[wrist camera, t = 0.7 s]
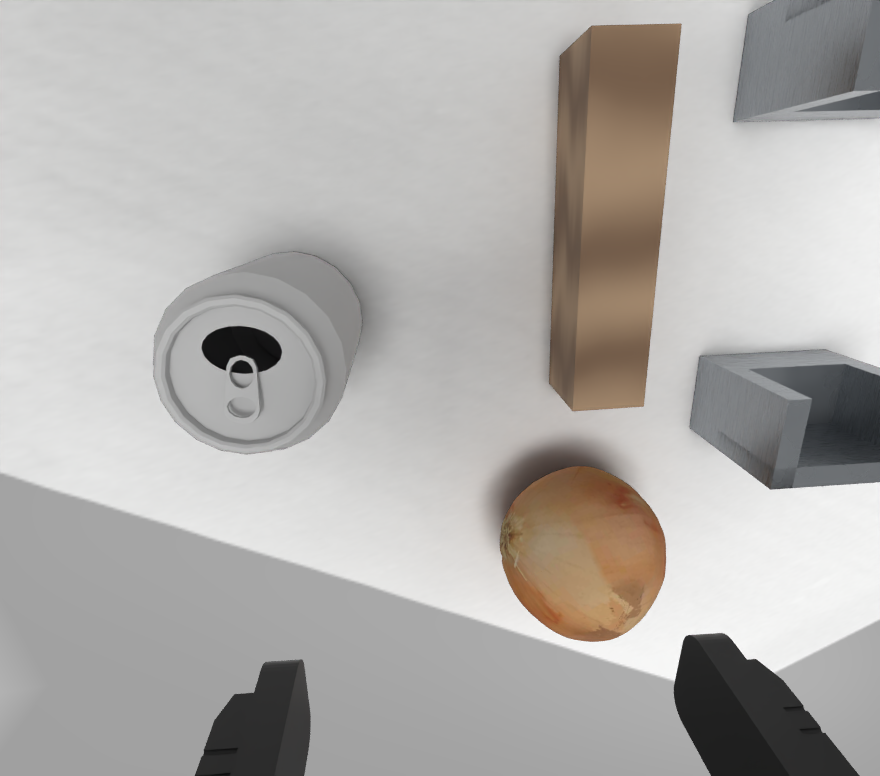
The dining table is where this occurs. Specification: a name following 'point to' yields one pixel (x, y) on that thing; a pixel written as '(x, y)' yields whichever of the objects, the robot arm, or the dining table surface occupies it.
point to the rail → (609, 210)
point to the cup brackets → (814, 371)
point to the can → (258, 352)
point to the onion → (583, 553)
